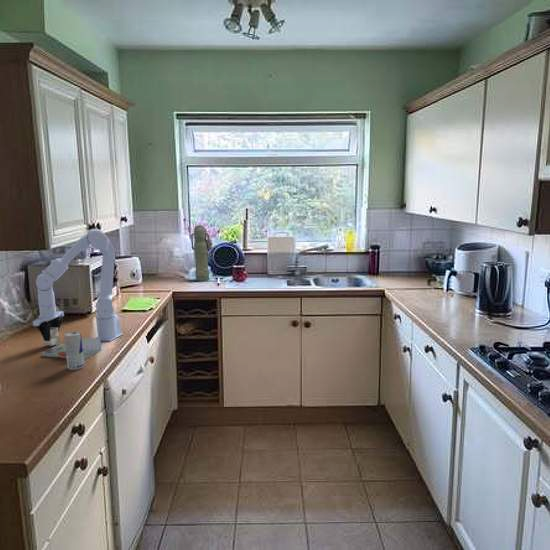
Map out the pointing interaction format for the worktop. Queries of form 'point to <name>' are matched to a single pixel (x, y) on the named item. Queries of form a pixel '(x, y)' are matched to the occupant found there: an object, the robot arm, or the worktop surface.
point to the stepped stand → (88, 345)
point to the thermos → (201, 253)
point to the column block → (53, 336)
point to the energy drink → (74, 350)
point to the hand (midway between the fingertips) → (51, 338)
